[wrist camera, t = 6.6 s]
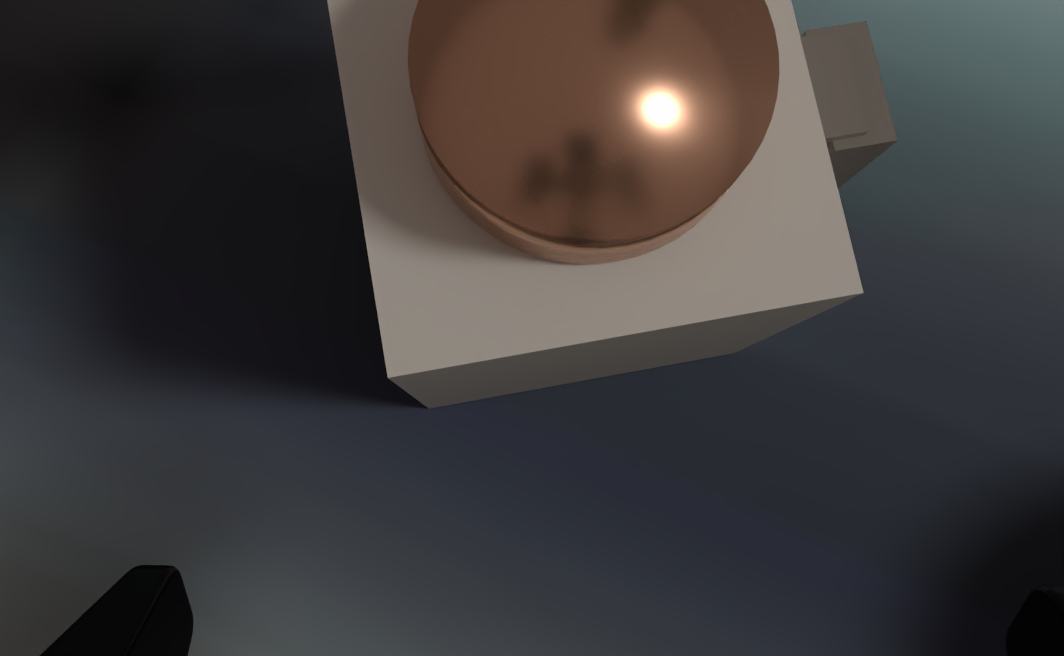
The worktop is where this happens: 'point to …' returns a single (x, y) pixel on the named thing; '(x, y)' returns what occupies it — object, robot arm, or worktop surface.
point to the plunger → (591, 115)
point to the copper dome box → (616, 287)
